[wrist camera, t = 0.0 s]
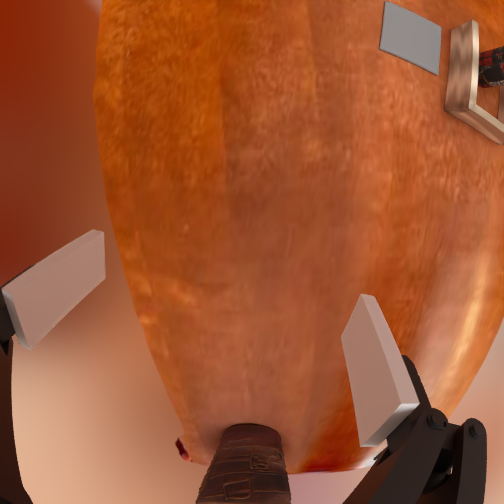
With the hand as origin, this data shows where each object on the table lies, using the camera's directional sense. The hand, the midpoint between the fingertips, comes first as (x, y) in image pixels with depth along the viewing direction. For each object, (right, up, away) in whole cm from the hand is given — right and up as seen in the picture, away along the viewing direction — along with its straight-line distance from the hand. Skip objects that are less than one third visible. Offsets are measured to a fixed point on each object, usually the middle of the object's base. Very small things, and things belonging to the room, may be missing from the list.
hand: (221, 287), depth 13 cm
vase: (+2, -48, +50) cm, 70 cm away
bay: (+39, +29, +14) cm, 50 cm away
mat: (+25, +34, +13) cm, 44 cm away
